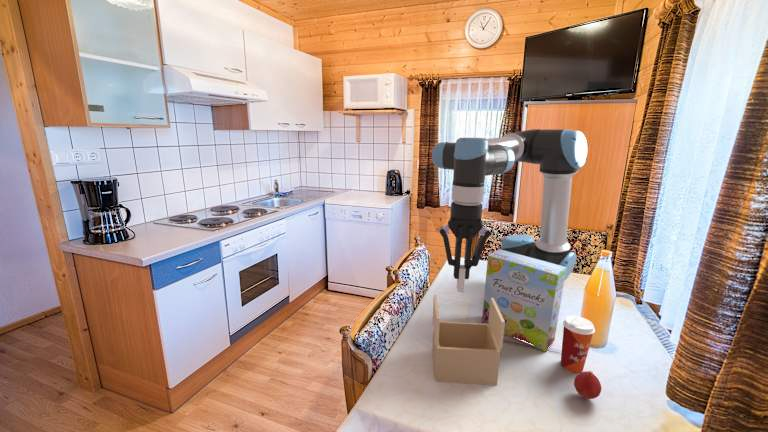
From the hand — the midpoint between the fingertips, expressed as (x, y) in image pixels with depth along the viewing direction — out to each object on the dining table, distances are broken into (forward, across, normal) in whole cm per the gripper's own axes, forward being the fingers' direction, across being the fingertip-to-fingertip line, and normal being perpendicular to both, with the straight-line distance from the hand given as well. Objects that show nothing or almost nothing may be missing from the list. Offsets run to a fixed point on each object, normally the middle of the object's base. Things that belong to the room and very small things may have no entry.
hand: (460, 289), depth 91 cm
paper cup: (+24, -33, -3) cm, 41 cm away
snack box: (+24, -22, -18) cm, 37 cm away
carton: (+24, -2, 0) cm, 24 cm away
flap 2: (+9, -10, 0) cm, 13 cm away
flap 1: (+9, +5, 0) cm, 11 cm away
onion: (+24, -31, +9) cm, 40 cm away
